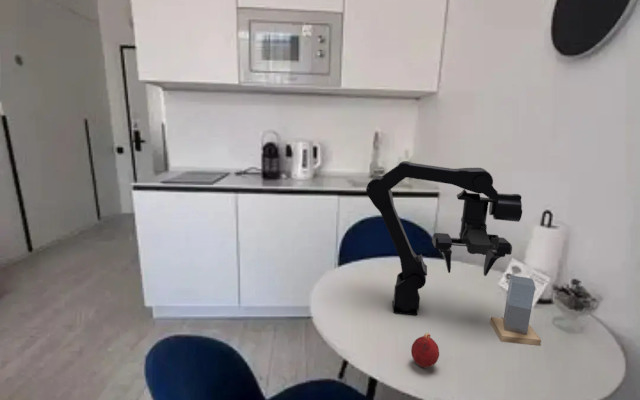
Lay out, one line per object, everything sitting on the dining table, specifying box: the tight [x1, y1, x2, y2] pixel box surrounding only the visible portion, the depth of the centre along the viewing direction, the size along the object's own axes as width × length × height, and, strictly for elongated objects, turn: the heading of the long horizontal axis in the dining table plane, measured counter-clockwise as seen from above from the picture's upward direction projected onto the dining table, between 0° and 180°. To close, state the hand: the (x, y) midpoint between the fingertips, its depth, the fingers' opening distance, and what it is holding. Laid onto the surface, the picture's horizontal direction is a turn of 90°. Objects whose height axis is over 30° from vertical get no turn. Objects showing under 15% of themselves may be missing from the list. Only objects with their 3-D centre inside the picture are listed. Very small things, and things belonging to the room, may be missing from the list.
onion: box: [410, 332, 440, 368], centre depth 80 cm, size 6×6×8 cm
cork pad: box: [489, 316, 542, 346], centre depth 95 cm, size 9×9×2 cm
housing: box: [502, 274, 536, 335], centre depth 93 cm, size 5×5×13 cm
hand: (466, 273), depth 99 cm, fingers open, 9 cm apart
